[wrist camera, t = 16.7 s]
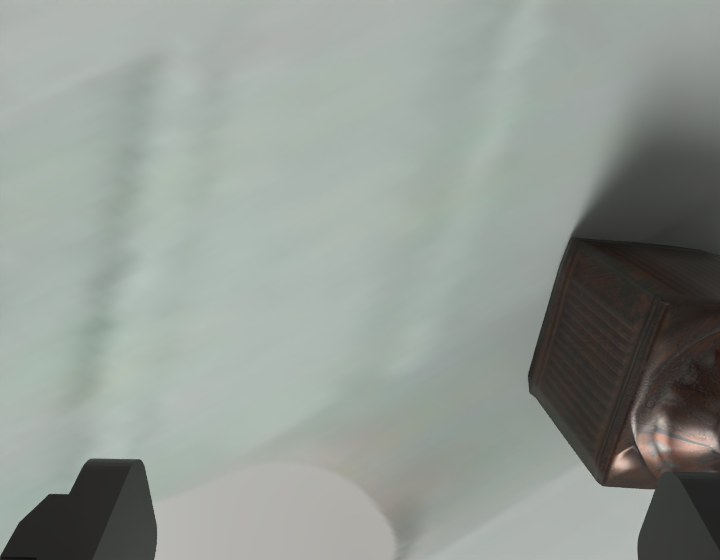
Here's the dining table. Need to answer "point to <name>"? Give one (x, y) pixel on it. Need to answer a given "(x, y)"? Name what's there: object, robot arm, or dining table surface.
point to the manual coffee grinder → (633, 360)
